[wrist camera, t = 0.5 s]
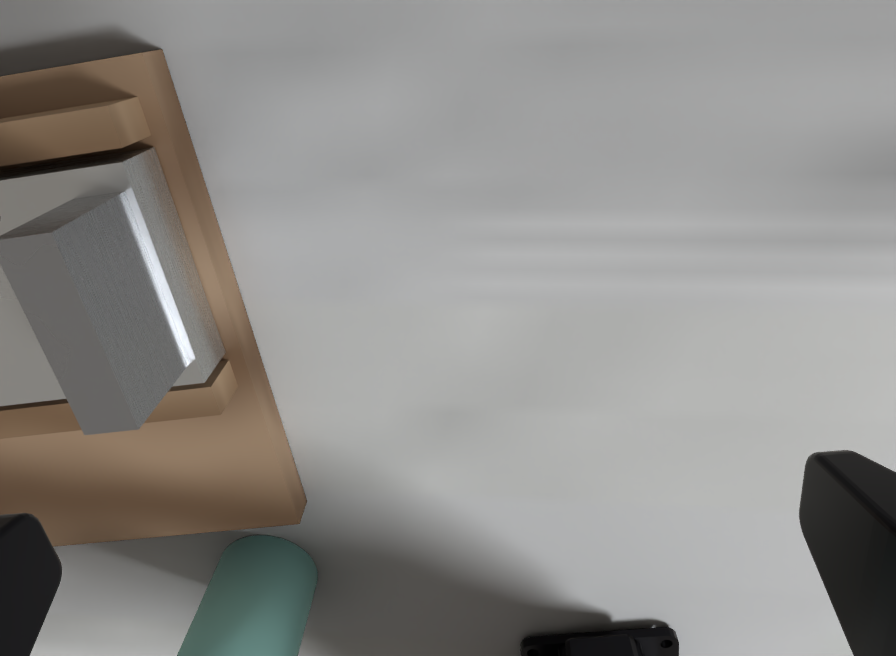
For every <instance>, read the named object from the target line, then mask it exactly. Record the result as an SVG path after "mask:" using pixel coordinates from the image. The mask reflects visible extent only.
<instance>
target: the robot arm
mask: <svg viewBox="0 0 896 656" xmlns="http://www.w3.org/2000/svg"><path fill="white" fill-rule="evenodd" d="M799 519H800V525H801V529H802V532H803V535H804V538H805V540H806V543H807V545H808V547H809V550H810V552H811V555H812V557H813V559H814V562H815V564H816V567H817V569H818V571H819V574H820V576H821V579H822V581H823V583H824V586H825V588H826V591H827V593H828V595H829V598H830V600H831V603H832V605H833V607H834V610H835V612H836V615H837V617H838V619H839V622H840V624H841V627H842V629H843V631H844V634H845V636H846V639H847V641H848V643H849V646H850V648H851V650H852V652H853V655H854V656H896V472H894V471H892V470H890V469H888V468H886V467H884V466H882V465H880V464H878V463H876V462H874V461H872V460H870V459H868V458H866V457H864V456H862V455H860V454H858V453H856V452H853V451H849V450H841V451H828V452H816V453H813V454H812V455H810V456H809V457H808V459H807V461H806V465H805V471H804V479H803V486H802V494H801V501H800V509H799ZM61 576H62V567H61V562H60V559H59V557H58V555H57V553H56V552H55V550H54V548H53V546H52V544H51V542H50V540H49V538H48V536H47V534H46V532H45V530H44V528H43V526H42V524H41V522H40V521H39V519H38V518H36V517H35V516H34V515H32V514H29V513H16V514H3V515H0V656H30V653H31V651H32V649H33V646H34V644H35V641H36V639H37V637H38V634H39V632H40V630H41V627H42V625H43V622H44V620H45V618H46V615H47V613H48V610H49V608H50V606H51V603H52V601H53V599H54V596H55V594H56V591H57V589H58V587H59V584H60V581H61ZM520 646H521V656H679V642H678V639H677V636H676V632H675V631H674V630H673V629H671V628H667V627H661V628H648V629H634V630H620V631H606V632H592V633H578V634H564V635H550V636H536V637H528V638H525V639H524V640H522V642H521V645H520Z"/></svg>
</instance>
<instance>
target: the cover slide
mask: <svg viewBox="0 0 896 656" xmlns="http://www.w3.org/2000/svg"><path fill="white" fill-rule="evenodd" d="M225 353H226V352H225V349H224V346H223V343H222V341H221V338H220V335H219V332H218V329H217V326H216V323H215V320H214V318H213V315H212V312H211V309H210V306H209V303H208V300H207V297H206V294H205V292H204V289H203V286H202V283H201V280H200V277H199V274H198V271H197V269H196V266H195V263H194V260H193V257H192V254H191V251H190V248H189V245H188V243H187V240H186V237H185V234H184V231H183V228H182V225H181V222H180V220H179V217H178V214H177V211H176V208H175V205H174V202H173V199H172V197H171V194H170V191H169V188H168V185H167V182H166V179H165V176H164V173H163V171H162V168H161V165H160V162H159V159H158V156H157V153H156V150H155V148H154V147H151V148H145V149H138V150H132V151H125V152H119V153H112V154H106V155H99V156H92V157H86V158H79V159H73V160H66V161H60V162H53V163H47V164H40V165H33V166H27V167H20V168H14V169H7V170H1V171H0V406H7V405H15V404H24V403H33V402H42V401H50V400H59V399H67V401H68V403H69V405H70V407H71V409H72V411H73V413H74V415H75V417H76V419H77V421H78V423H79V425H80V427H81V429H82V431H83V433H84V435H93V434H102V433H111V432H120V431H129V430H139V429H140V427H141V426H142V425H143V423H144V422H145V421H146V419H147V418H148V417H149V416H150V414H151V413H152V412H153V410H154V409H155V408H156V406H157V405H158V404H159V403H160V401H161V400H162V399H163V397H164V396H165V395H166V393H167V392H168V391H169V390H170V388H171V387H172V386H181V385H190V384H198V383H205V381H206V380H207V379H208V377H209V376H210V374H211V373H212V371H213V370H214V368H215V367H216V366H217V364H218V363H219V361H220V360H221V358H222V357H223V355H224V354H225Z"/></svg>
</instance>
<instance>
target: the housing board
mask: <svg viewBox="0 0 896 656" xmlns="http://www.w3.org/2000/svg"><path fill="white" fill-rule="evenodd" d="M151 147H154V148H155V150H156V153H157V156H158V159H159V162H160V165H161V168H162V171H163V173H164V176H165V179H166V182H167V185H168V188H169V191H170V194H171V197H172V199H173V202H174V205H175V208H176V211H177V214H178V217H179V220H180V222H181V225H182V228H183V231H184V234H185V237H186V240H187V243H188V245H189V248H190V251H191V254H192V257H193V260H194V263H195V266H196V269H197V271H198V274H199V277H200V280H201V283H202V286H203V289H204V292H205V294H206V297H207V300H208V303H209V306H210V309H211V312H212V315H213V318H214V320H215V323H216V326H217V329H218V332H219V335H220V338H221V341H222V343H223V346H224V349H225V352H226V353H225V354H224V355H223V357H222V358H221V360H220V361H219V363H218V364H217V366H216V367H215V368H214V370H213V371H212V373H211V374H210V376H209V377H208V379H207V380H206V381H205V383H198V384H190V385H181V386H172V387H171V388H170V390H169V391H168V392H167V393H166V395H165V396H164V397H163V399H162V400H161V401H160V403H159V404H158V405H157V406H156V408H155V409H154V410H153V412H152V413H151V414H150V416H149V417H148V418H147V419H146V421H145V422H144V423H143V425H142V426H141V427H140V429H139V430H129V431H120V432H111V433H102V434H93V435H84V433H83V431H82V429H81V427H80V425H79V423H78V421H77V419H76V417H75V415H74V413H73V411H72V409H71V407H70V405H69V403H68V401H67V399H59V400H50V401H42V402H33V403H24V404H15V405H7V406H0V515H3V514H16V513H29V514H32V515H34V516H35V517H36V518H38V519H39V521H40V522H41V524H42V526H43V528H44V530H45V532H46V534H47V536H48V538H49V540H50V542H51V544H52V546H53V547H54V546H65V545H75V544H86V543H97V542H108V541H119V540H130V539H141V538H152V537H163V536H174V535H185V534H196V533H207V532H218V531H229V530H240V529H250V528H261V527H272V526H283V525H294V524H300V521H301V518H302V515H303V512H304V509H305V506H306V503H307V500H306V497H305V493H304V490H303V487H302V484H301V481H300V478H299V475H298V472H297V468H296V465H295V462H294V459H293V456H292V453H291V450H290V447H289V443H288V440H287V437H286V434H285V431H284V428H283V425H282V422H281V418H280V415H279V412H278V409H277V406H276V403H275V400H274V397H273V394H272V390H271V387H270V384H269V381H268V378H267V375H266V372H265V369H264V365H263V362H262V359H261V356H260V353H259V350H258V347H257V344H256V340H255V337H254V334H253V331H252V328H251V325H250V322H249V319H248V316H247V312H246V309H245V306H244V303H243V300H242V297H241V294H240V291H239V287H238V284H237V281H236V278H235V275H234V272H233V269H232V266H231V262H230V259H229V256H228V253H227V250H226V247H225V244H224V241H223V237H222V234H221V231H220V228H219V225H218V222H217V219H216V216H215V213H214V209H213V206H212V203H211V200H210V197H209V194H208V191H207V188H206V184H205V181H204V178H203V175H202V172H201V169H200V166H199V163H198V159H197V156H196V153H195V150H194V147H193V144H192V141H191V138H190V134H189V131H188V128H187V125H186V122H185V119H184V116H183V113H182V110H181V106H180V103H179V100H178V97H177V94H176V91H175V88H174V85H173V81H172V78H171V75H170V72H169V69H168V66H167V63H166V60H165V56H164V53H163V50H162V49H161V50H155V51H149V52H143V53H137V54H131V55H125V56H119V57H113V58H107V59H101V60H95V61H89V62H83V63H77V64H71V65H65V66H60V67H54V68H48V69H42V70H36V71H30V72H24V73H18V74H12V75H6V76H0V171H1V170H7V169H14V168H20V167H27V166H33V165H40V164H47V163H53V162H60V161H66V160H73V159H79V158H86V157H92V156H99V155H106V154H112V153H119V152H125V151H132V150H138V149H145V148H151Z"/></svg>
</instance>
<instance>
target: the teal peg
mask: <svg viewBox="0 0 896 656" xmlns="http://www.w3.org/2000/svg"><path fill="white" fill-rule="evenodd" d="M317 579H318V572H317V568H316V566H315V563H314V562H313V560H312V558H311V557H310V556H309V555H308V554H307V553H306V552H305V551H304V550H303V549H302V548H300V547H299V546H297V545H295V544H294V543H292V542H290V541H287V540H285V539H282V538H278V537H274V536H266V535H255V536H249V537H245V538H242V539H239V540H237V541H235V542H233V543H232V544H231V545H229V546H228V547H227V548H226V549H225V551H224V552H223V554H222V556H221V559H220V561H219V563H218V565H217V567H216V570H215V572H214V574H213V576H212V579H211V581H210V583H209V585H208V588H207V590H206V592H205V594H204V597H203V599H202V601H201V603H200V605H199V608H198V610H197V612H196V614H195V617H194V619H193V621H192V623H191V626H190V628H189V630H188V632H187V635H186V637H185V639H184V641H183V643H182V646H181V648H180V650H179V652H178V655H177V656H298V652H299V648H300V645H301V641H302V637H303V633H304V630H305V626H306V622H307V618H308V614H309V611H310V607H311V603H312V599H313V596H314V592H315V588H316V584H317Z"/></svg>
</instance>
